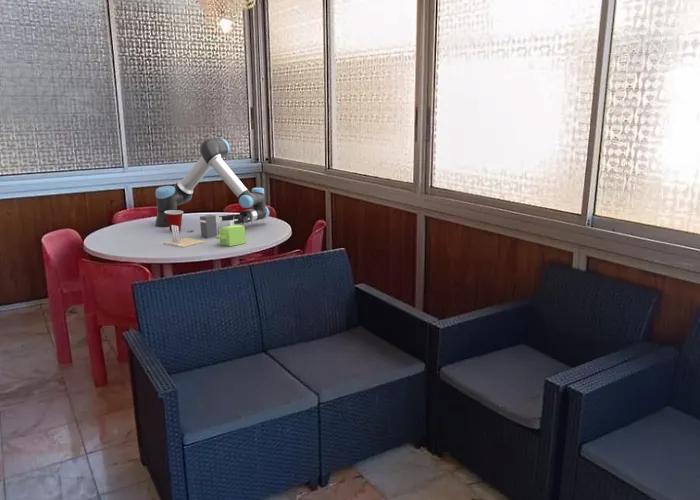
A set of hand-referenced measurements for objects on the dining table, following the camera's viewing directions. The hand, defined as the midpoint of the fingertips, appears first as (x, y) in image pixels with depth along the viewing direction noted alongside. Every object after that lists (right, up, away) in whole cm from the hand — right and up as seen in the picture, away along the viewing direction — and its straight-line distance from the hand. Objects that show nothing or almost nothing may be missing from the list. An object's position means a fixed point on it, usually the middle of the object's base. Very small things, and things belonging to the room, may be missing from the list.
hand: (220, 222), depth 335 cm
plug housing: (-5, -9, -5) cm, 11 cm away
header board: (-15, -12, -18) cm, 27 cm away
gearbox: (+11, -13, -21) cm, 27 cm away
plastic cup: (-29, -5, +11) cm, 32 cm away
